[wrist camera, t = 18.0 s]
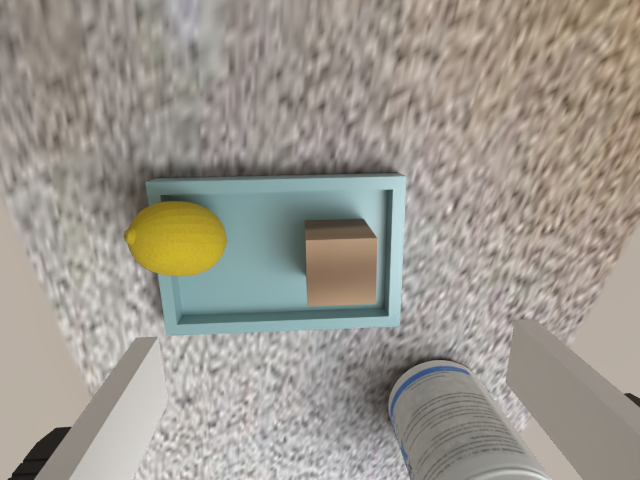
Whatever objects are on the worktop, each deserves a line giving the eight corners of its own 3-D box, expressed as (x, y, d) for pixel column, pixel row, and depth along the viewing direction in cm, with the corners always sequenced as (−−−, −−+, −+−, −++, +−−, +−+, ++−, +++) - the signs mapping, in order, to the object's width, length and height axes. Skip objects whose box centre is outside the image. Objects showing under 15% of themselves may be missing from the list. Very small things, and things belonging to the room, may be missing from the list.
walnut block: (304, 220, 33) (305, 240, 27) (363, 218, 33) (377, 237, 27) (306, 276, 34) (307, 306, 29) (362, 274, 35) (375, 303, 29)
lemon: (207, 277, 33) (107, 280, 27) (205, 213, 34) (108, 202, 28) (249, 273, 30) (145, 274, 24) (246, 202, 31) (144, 185, 24)
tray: (156, 178, 32) (145, 182, 30) (398, 172, 33) (406, 176, 31) (175, 321, 36) (166, 335, 33) (393, 313, 37) (399, 326, 34)
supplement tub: (367, 407, 39) (405, 564, 25) (428, 338, 38) (506, 464, 23) (439, 451, 41) (512, 618, 27) (500, 386, 40) (612, 530, 25)
